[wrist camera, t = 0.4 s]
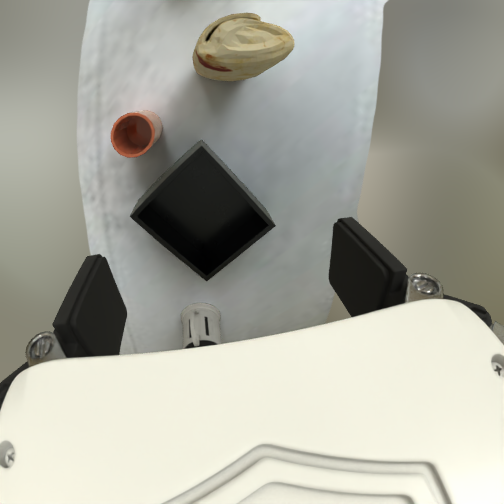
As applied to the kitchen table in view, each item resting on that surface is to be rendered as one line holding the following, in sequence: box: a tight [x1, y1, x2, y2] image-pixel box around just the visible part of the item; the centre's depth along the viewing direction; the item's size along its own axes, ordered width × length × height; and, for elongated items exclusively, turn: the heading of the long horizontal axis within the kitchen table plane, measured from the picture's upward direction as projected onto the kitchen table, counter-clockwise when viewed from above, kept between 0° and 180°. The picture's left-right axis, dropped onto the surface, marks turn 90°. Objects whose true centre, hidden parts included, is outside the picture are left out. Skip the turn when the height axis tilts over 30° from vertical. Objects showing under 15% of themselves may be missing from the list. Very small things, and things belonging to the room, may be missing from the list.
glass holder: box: [181, 303, 222, 349], centre depth 51 cm, size 9×14×15 cm, turn 5°
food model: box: [193, 13, 294, 82], centre depth 26 cm, size 10×7×20 cm
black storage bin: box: [130, 139, 276, 281], centre depth 43 cm, size 17×15×7 cm
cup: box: [111, 110, 162, 158], centre depth 34 cm, size 6×6×8 cm
